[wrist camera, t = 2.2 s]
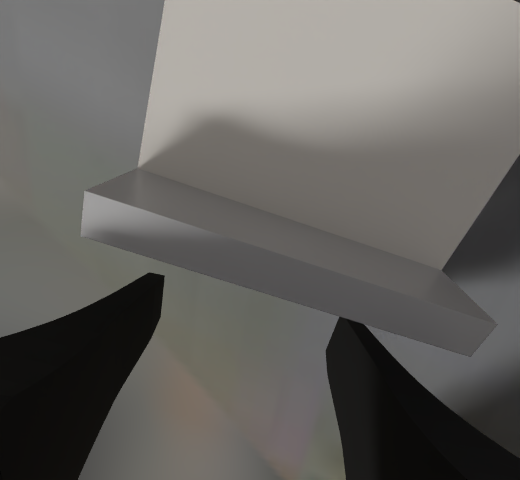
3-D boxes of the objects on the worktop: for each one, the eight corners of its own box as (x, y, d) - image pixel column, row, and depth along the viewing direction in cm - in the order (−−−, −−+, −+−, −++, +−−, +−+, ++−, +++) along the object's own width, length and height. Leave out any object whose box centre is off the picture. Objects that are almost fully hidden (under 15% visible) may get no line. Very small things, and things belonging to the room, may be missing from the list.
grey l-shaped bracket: (483, 62, 10) (770, -2, 4) (382, 245, 13) (470, 356, 7) (221, -45, 9) (131, -305, 3) (174, 175, 12) (80, 236, 6)
